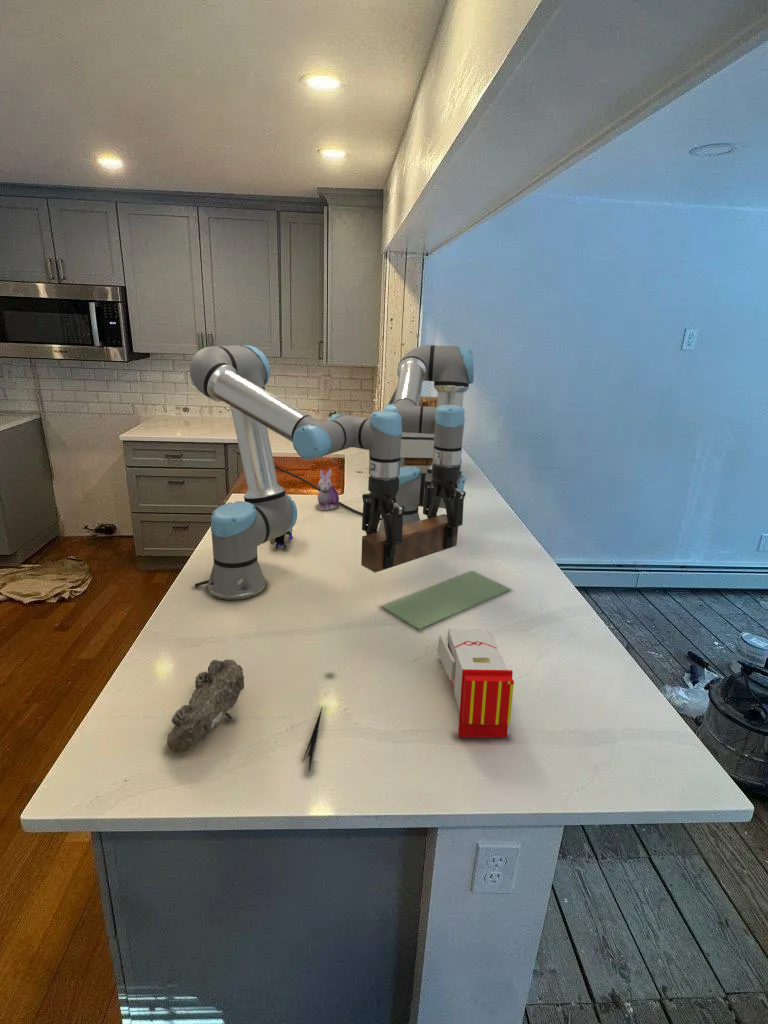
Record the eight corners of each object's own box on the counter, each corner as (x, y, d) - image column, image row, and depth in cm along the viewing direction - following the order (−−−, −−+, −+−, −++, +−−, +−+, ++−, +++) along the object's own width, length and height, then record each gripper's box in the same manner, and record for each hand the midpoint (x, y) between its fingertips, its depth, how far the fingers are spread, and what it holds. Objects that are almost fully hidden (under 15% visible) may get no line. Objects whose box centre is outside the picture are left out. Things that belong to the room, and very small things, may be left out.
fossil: (192, 660, 117) (244, 628, 112) (224, 691, 120) (276, 661, 115) (142, 746, 98) (202, 712, 93) (182, 779, 101) (242, 748, 96)
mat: (382, 607, 150) (382, 606, 150) (472, 572, 173) (472, 571, 173) (419, 630, 140) (419, 628, 140) (509, 590, 163) (509, 588, 163)
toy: (488, 613, 130) (523, 677, 101) (484, 667, 133) (517, 744, 104) (435, 612, 130) (455, 676, 101) (432, 666, 133) (451, 743, 103)
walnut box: (375, 572, 142) (376, 543, 139) (361, 565, 145) (362, 536, 143) (456, 545, 160) (459, 519, 158) (442, 539, 164) (444, 513, 162)
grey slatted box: (382, 463, 289) (386, 382, 275) (445, 464, 293) (451, 384, 279) (390, 482, 257) (394, 392, 243) (460, 483, 261) (468, 394, 247)
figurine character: (290, 555, 182) (296, 533, 195) (289, 535, 178) (295, 513, 192) (269, 555, 181) (276, 532, 195) (268, 534, 178) (275, 513, 191)
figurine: (321, 512, 217) (321, 474, 212) (311, 504, 225) (311, 467, 220) (344, 509, 221) (344, 472, 216) (333, 501, 229) (334, 465, 224)
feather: (331, 679, 122) (336, 673, 122) (307, 777, 96) (313, 769, 95) (324, 675, 122) (329, 669, 121) (298, 772, 95) (304, 764, 95)
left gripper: (348, 469, 142) (346, 554, 150) (397, 488, 129) (393, 580, 137) (371, 465, 147) (368, 547, 155) (421, 483, 134) (415, 572, 141)
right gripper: (412, 458, 156) (408, 536, 164) (462, 474, 143) (455, 558, 151) (431, 455, 161) (426, 531, 169) (482, 470, 147) (474, 551, 155)
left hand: (380, 562), depth 146 cm, fingers closed on walnut box, 6 cm apart
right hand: (440, 543), depth 160 cm, fingers closed on walnut box, 6 cm apart
